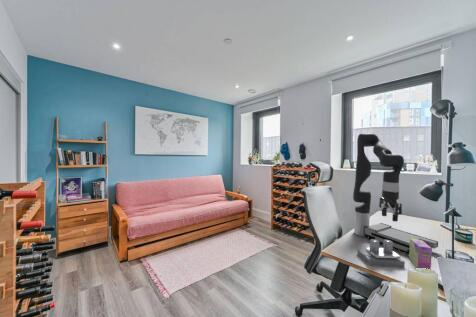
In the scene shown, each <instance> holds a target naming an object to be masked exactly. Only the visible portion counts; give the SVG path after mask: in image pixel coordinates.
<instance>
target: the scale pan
mask: <svg viewBox="0 0 476 317" xmlns="http://www.w3.org/2000/svg"><path fill="white" fill-rule="evenodd" d="M365 250H367V251H368V252H370V253H371V254H372V255H373V256H374V257H376V258H398V259H401V256H400V255H399V253H397V252H395V251H393V254H388V253H385V252H384V251H383V247H379V253H373V252H371V251H370V247H365Z"/></svg>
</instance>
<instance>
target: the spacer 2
mask: <svg viewBox="0 0 476 317" xmlns="http://www.w3.org/2000/svg"><path fill="white" fill-rule="evenodd" d="M382 248H383V251H384V252H385V253H388V254H393V252H394V249H393V242H392V241H390V240H383V246H382Z"/></svg>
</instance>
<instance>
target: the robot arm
mask: <svg viewBox="0 0 476 317" xmlns="http://www.w3.org/2000/svg"><path fill="white" fill-rule="evenodd" d="M356 142H357V148H356V150H357V156H356V164H355V180H354V188H353V194H352V199H353V202H355V203H361V205H357V206H355V207H354V220H353V221H354V223H353V224H354V225H353V226H354V227H353V228H354V230H353V232H354V233H353V234H355V236H358V237H362V238H363V237H364V238H367V237H366V234H365V227H368V226H370V215H371V214H370V212H371V203H372V195H371V192H370V190H367V189H366V190H364V189H361V188H362V186H363V184H364V183H365V182H366V181H367V180H368V178H370V176H371V174H372V163H371V162H370V160H369V158H368V156H366V152H365V147H373V150H372V151H373V154H374V155H375V156H376V157H377V158H378V160H379V163H380V165H381V166H382V167H385V168H391V170H387V171H384V172H383V176H382V177H383V178H382V186H381V188H382V190H381V197H379V205H378V207H379V208H380V209H381V216H382V217H387V216H388V215H387V214H388V213H387V212H388V211H387V210H388V209H389V210H390V211H391V212H392V222H398V220H399V215H401V216H402V214H403V210H402V207H403V205H402V203H401V202H397V200H399V199H400V174H401V172H402V168H403V166H404V164H405V159H404V157H403V155H402V154H393V153H392V151H391V150H390V149H389V148H388V147H386V145H384V144H383V143H382V142H383V141H381V139H380V138H379V136H378V135H376V133H372V132H371V133H366V132H365V133H359V134H358V136H357V141H356Z"/></svg>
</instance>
